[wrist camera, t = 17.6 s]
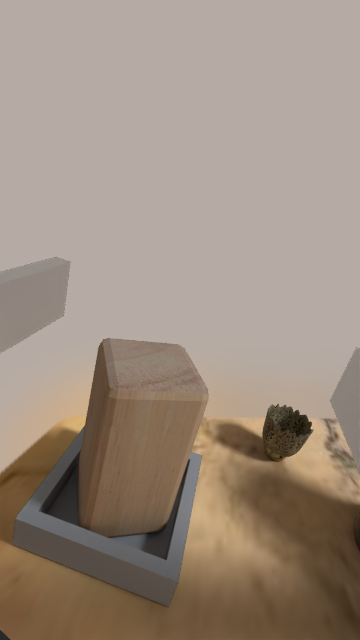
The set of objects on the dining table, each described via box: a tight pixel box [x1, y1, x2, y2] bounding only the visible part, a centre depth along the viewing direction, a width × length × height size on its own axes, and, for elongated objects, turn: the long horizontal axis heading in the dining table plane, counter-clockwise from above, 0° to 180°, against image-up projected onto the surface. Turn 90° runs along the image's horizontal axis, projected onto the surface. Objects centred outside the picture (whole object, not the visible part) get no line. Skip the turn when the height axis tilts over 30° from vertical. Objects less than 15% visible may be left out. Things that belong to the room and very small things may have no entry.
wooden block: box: [77, 338, 208, 538], centre depth 37 cm, size 10×10×20 cm
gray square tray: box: [13, 426, 202, 607], centre depth 41 cm, size 17×17×4 cm
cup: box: [263, 404, 313, 461], centre depth 56 cm, size 8×7×8 cm
